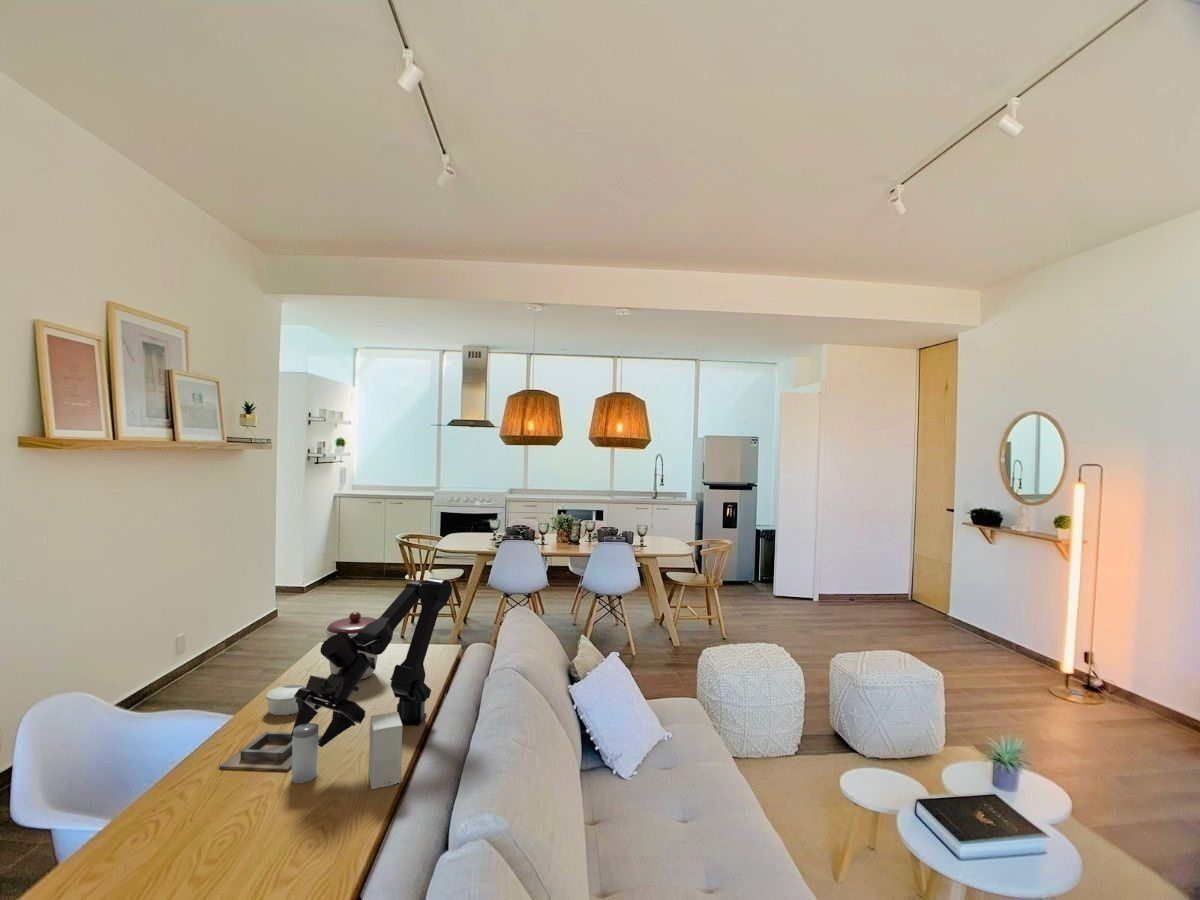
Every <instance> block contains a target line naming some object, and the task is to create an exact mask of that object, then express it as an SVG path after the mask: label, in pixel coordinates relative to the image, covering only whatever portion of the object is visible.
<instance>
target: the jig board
mask: <svg viewBox="0 0 1200 900" xmlns="http://www.w3.org/2000/svg"><path fill="white" fill-rule="evenodd" d="M291 733H292V732H285V731H283V732H282V731H265V732H264V733H260V734H259V735H258V736H256V737H254V739H252V740H250V741H249V742H248V743H247V744H246V745H245V746H244V747H242V748H241V749H239V750H238V751H237V752H235V753H234V754H233V755H232V756H230V757H229V758H228V759H227V760H225V761H224V762H223V763H222V764H220V765H219V766H218V767H219V768H218V769H219V770H238V771H239V770H243V771H263V770H264V771H265V772H266V770H275V771H274V772H288V771H290V770H292V744H293V737H292V736H291ZM322 736H323V735H318V743H319V742H320V740H321V738H322Z"/></svg>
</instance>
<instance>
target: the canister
mask: <svg viewBox="0 0 1200 900" xmlns="http://www.w3.org/2000/svg"><path fill="white" fill-rule="evenodd" d="M377 619H378V618H375V617H369V616H362V614H361V613H360V612H359V611H353V612H351V613H350V614H349V617H345V618H341V619H337V620H335V621H333V622H331V623H329V624H328V625H327V626H325V628H324V632H325V633H326V640H327V639H328V638H330V637H331V636H333V635H336V634H337V633H338V632H339V631H345V632H346V633H347V634H348V635H349V637H353V636H355V635H357V634H358V632H359V631H360V630H362V629H363V628H364V627H365V626H366V625H367V624H369V623H371V622H373V621H375V620H377ZM358 653H364V654H365V655H366V656H367V657H372V658H374V662H375V667H376V666H377V661H378V656H379V655H373V654H369V653H365V652H361V651H358ZM328 663H329V669H330V670H329V671H330V675H331V674H332V673H333V674H336V673H337V672H338V670H339V669H340V668H338V667H336V666H334V665H333V664H332V663H331V662H330V661H329V660H328ZM375 670H376V668H375V669H374V670H373V669H369V668H368V669H367V670H366V672H365V673H364V675H363V677H362V678H361V679H362V680H365V679H367V678H368V677H371V676H372V675H373V673H374V672H375ZM364 678H365V679H364Z"/></svg>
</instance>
